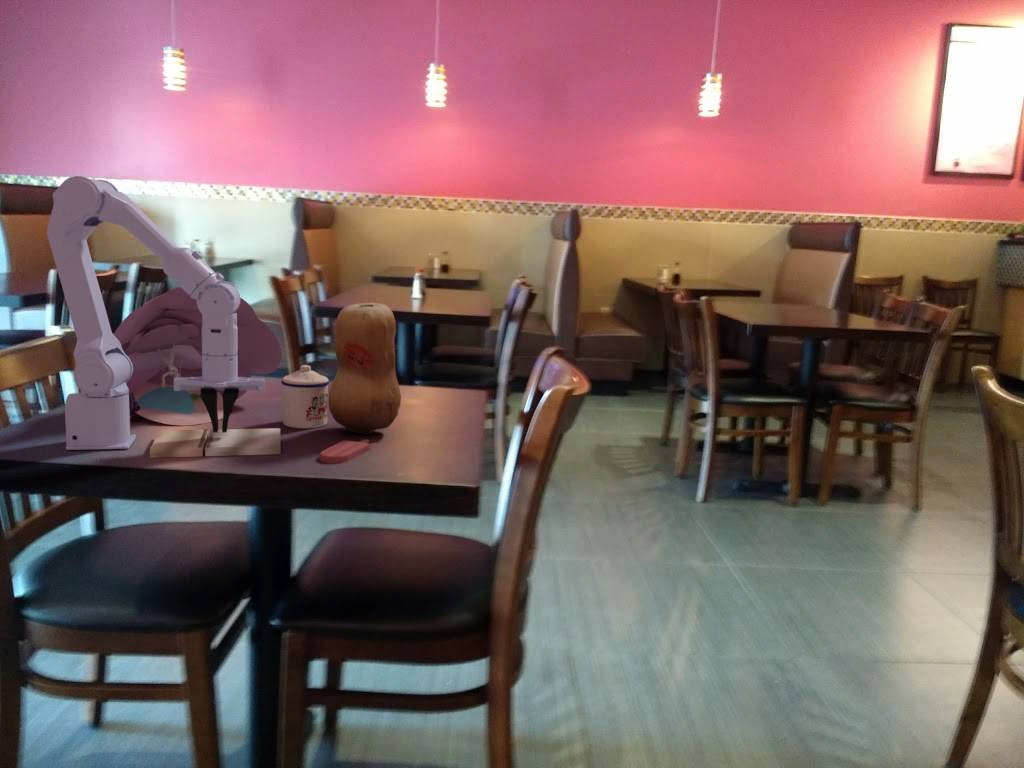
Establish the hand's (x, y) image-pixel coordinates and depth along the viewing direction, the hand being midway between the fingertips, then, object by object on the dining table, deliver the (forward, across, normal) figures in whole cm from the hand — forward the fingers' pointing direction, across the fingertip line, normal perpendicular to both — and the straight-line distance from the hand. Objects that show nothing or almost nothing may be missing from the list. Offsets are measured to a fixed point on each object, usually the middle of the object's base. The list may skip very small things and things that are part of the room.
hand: (220, 431), depth 136 cm
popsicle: (+3, +22, -5) cm, 22 cm away
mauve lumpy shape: (+3, -9, +25) cm, 27 cm away
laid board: (+3, -6, 0) cm, 7 cm away
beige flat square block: (+3, +4, 0) cm, 5 cm away
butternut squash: (+3, +26, +8) cm, 27 cm away
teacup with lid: (+3, +16, +17) cm, 23 cm away
